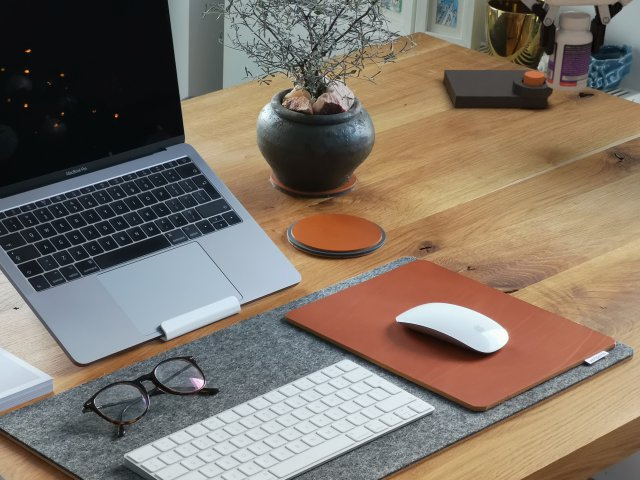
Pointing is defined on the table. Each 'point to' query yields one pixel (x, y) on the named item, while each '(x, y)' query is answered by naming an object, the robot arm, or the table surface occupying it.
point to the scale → (494, 89)
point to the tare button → (533, 78)
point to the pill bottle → (570, 52)
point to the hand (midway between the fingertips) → (570, 50)
